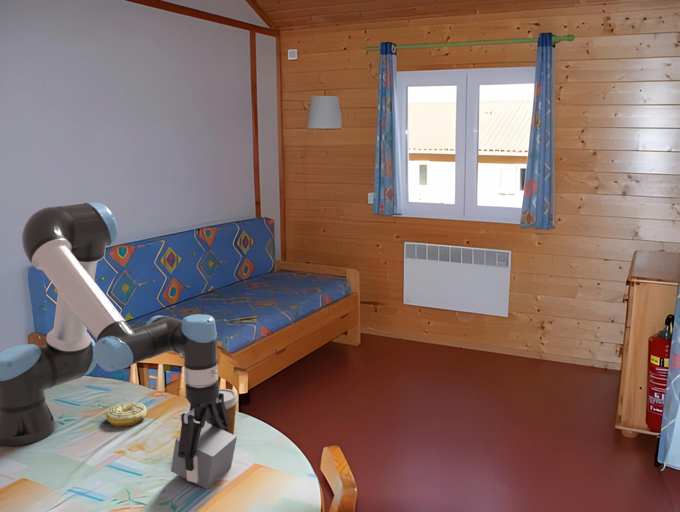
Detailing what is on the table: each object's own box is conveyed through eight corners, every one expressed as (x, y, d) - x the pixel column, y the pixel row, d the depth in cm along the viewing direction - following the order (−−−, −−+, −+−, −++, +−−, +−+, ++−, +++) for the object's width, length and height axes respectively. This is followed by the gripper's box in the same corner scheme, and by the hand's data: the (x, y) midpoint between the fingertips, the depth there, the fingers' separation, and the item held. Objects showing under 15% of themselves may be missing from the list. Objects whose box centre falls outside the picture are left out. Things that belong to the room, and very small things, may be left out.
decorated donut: (153, 420, 177) (152, 408, 176) (116, 432, 170) (115, 419, 169) (137, 408, 184) (136, 396, 184) (101, 419, 177) (100, 407, 177)
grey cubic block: (170, 471, 146) (175, 439, 143) (196, 450, 155) (201, 420, 152) (207, 489, 142) (212, 456, 140) (231, 467, 152) (236, 436, 149)
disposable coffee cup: (231, 447, 161) (229, 404, 158) (197, 444, 163) (195, 401, 160) (244, 430, 170) (243, 389, 168) (211, 427, 172) (209, 386, 169)
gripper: (185, 404, 132) (191, 498, 136) (241, 366, 153) (245, 449, 157) (156, 398, 135) (163, 491, 139) (215, 362, 155) (219, 444, 160)
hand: (206, 469), depth 148 cm, fingers closed on grey cubic block, 10 cm apart
